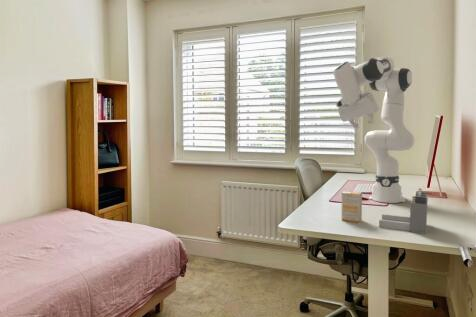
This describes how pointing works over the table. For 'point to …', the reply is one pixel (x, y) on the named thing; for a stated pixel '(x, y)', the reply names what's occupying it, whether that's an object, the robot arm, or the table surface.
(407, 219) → the gray l-shaped stand
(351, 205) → the supplement box
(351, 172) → the table surface
